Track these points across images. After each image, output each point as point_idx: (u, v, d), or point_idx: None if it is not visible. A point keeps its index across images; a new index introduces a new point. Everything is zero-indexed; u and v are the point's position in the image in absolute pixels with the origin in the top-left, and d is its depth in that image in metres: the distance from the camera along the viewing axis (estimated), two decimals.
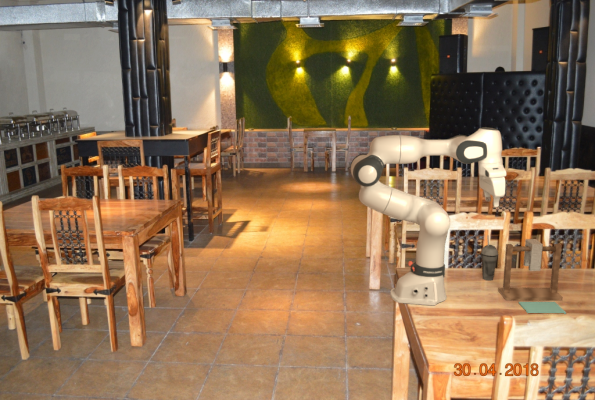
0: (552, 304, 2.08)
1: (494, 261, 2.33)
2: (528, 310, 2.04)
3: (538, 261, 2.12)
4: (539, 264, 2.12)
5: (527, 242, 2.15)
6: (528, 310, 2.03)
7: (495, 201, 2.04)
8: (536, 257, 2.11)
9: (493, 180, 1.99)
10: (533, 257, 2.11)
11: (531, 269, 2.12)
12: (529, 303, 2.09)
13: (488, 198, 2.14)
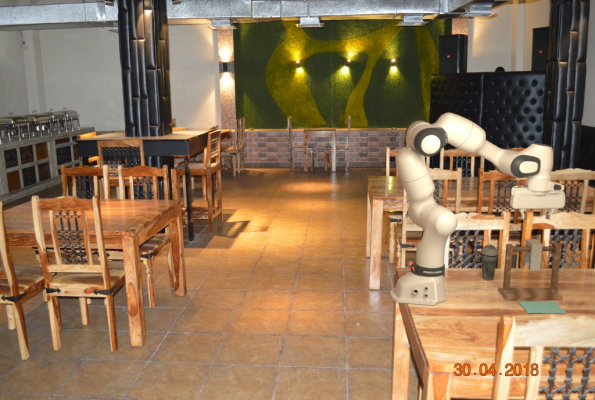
0: (552, 304, 2.08)
1: (494, 261, 2.33)
2: (528, 310, 2.04)
3: (538, 261, 2.12)
4: (539, 264, 2.12)
5: (527, 242, 2.15)
6: (528, 310, 2.03)
7: None
8: (536, 257, 2.11)
9: (563, 192, 2.07)
10: (533, 257, 2.11)
11: (531, 269, 2.12)
12: (529, 303, 2.09)
13: None
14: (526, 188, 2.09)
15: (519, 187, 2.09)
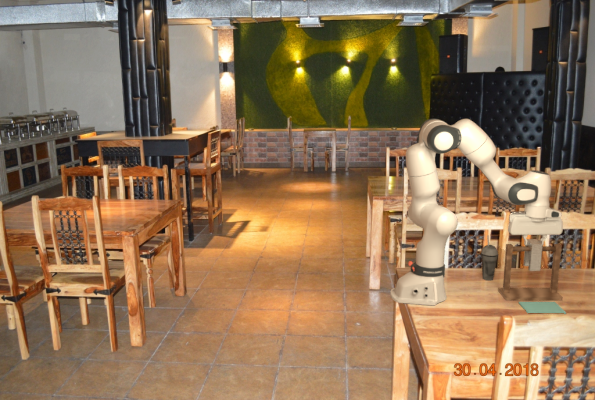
0: (552, 304, 2.08)
1: (494, 261, 2.33)
2: (528, 310, 2.04)
3: (538, 261, 2.12)
4: (539, 264, 2.12)
5: None
6: (528, 310, 2.03)
7: None
8: (536, 257, 2.11)
9: None
10: (533, 257, 2.11)
11: (531, 269, 2.12)
12: (529, 303, 2.09)
13: None
14: (524, 214, 2.11)
15: (517, 213, 2.11)
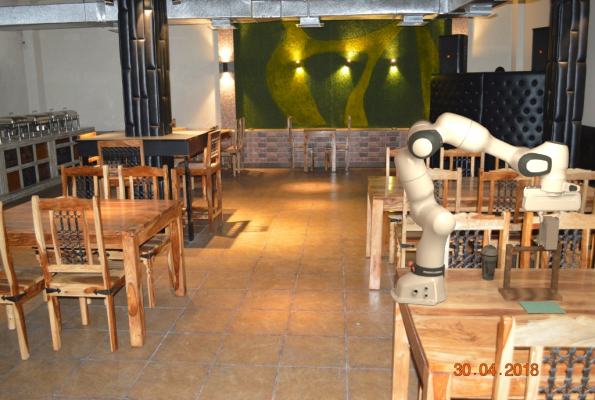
0: (552, 304, 2.08)
1: (494, 261, 2.33)
2: (528, 310, 2.04)
3: (554, 239, 1.97)
4: (555, 242, 1.97)
5: None
6: (528, 310, 2.03)
7: None
8: (552, 235, 1.96)
9: (579, 193, 1.94)
10: (549, 235, 1.96)
11: (547, 248, 1.98)
12: (529, 303, 2.09)
13: None
14: (539, 189, 1.96)
15: (532, 188, 1.96)
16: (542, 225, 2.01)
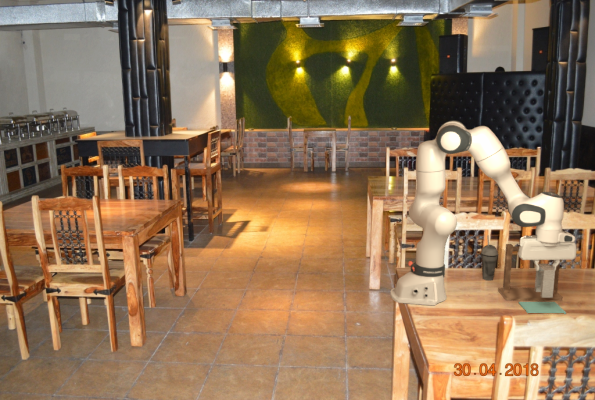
0: (552, 304, 2.08)
1: (494, 261, 2.33)
2: (528, 310, 2.04)
3: (550, 287, 2.01)
4: (551, 290, 2.01)
5: None
6: (528, 310, 2.03)
7: None
8: (548, 283, 2.00)
9: (574, 243, 1.98)
10: (545, 283, 2.00)
11: (543, 296, 2.02)
12: (529, 303, 2.09)
13: None
14: (535, 239, 2.00)
15: (528, 238, 2.00)
16: (538, 273, 2.05)
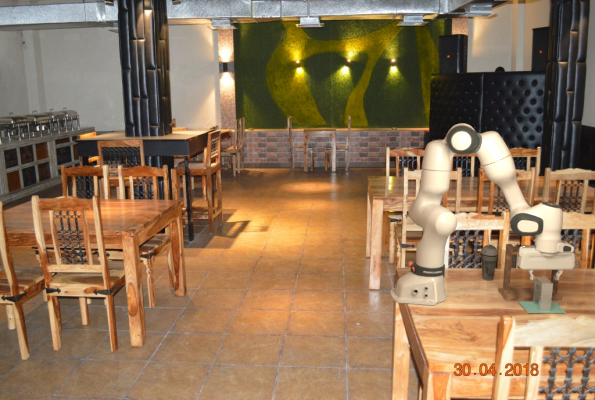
0: (552, 304, 2.08)
1: (494, 261, 2.33)
2: (528, 310, 2.04)
3: (548, 300, 2.02)
4: (549, 304, 2.02)
5: (537, 280, 2.05)
6: (528, 310, 2.03)
7: None
8: (546, 296, 2.02)
9: (573, 253, 1.99)
10: (543, 297, 2.02)
11: (541, 309, 2.03)
12: (529, 303, 2.09)
13: None
14: (534, 248, 2.01)
15: (527, 247, 2.01)
16: (536, 286, 2.07)
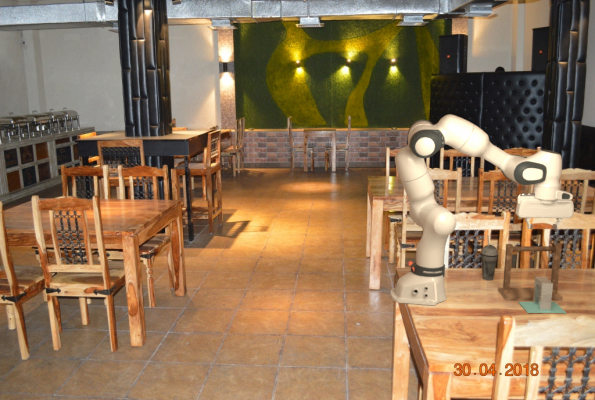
0: (552, 304, 2.08)
1: (494, 261, 2.33)
2: (528, 310, 2.04)
3: (548, 300, 2.02)
4: (549, 304, 2.02)
5: (537, 280, 2.05)
6: (528, 310, 2.03)
7: None
8: (546, 296, 2.02)
9: (572, 201, 1.99)
10: (543, 297, 2.02)
11: (541, 309, 2.03)
12: (529, 303, 2.09)
13: None
14: (533, 196, 2.01)
15: (526, 195, 2.01)
16: (536, 286, 2.07)
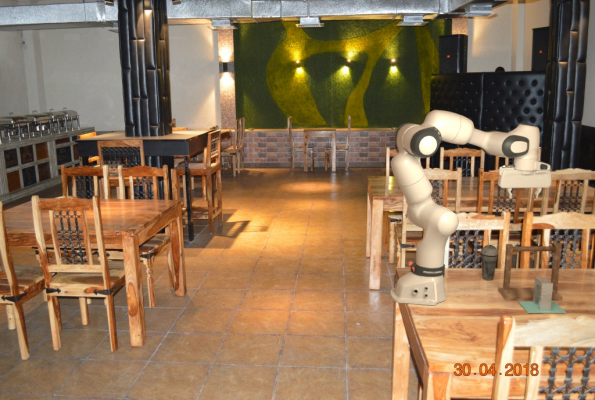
0: (552, 304, 2.08)
1: (494, 261, 2.33)
2: (528, 310, 2.04)
3: (548, 300, 2.02)
4: (549, 304, 2.02)
5: (537, 280, 2.05)
6: (528, 310, 2.03)
7: None
8: (546, 296, 2.02)
9: (549, 171, 2.12)
10: (543, 297, 2.02)
11: (541, 309, 2.03)
12: (529, 303, 2.09)
13: None
14: (513, 168, 2.14)
15: (507, 167, 2.14)
16: (536, 286, 2.07)
